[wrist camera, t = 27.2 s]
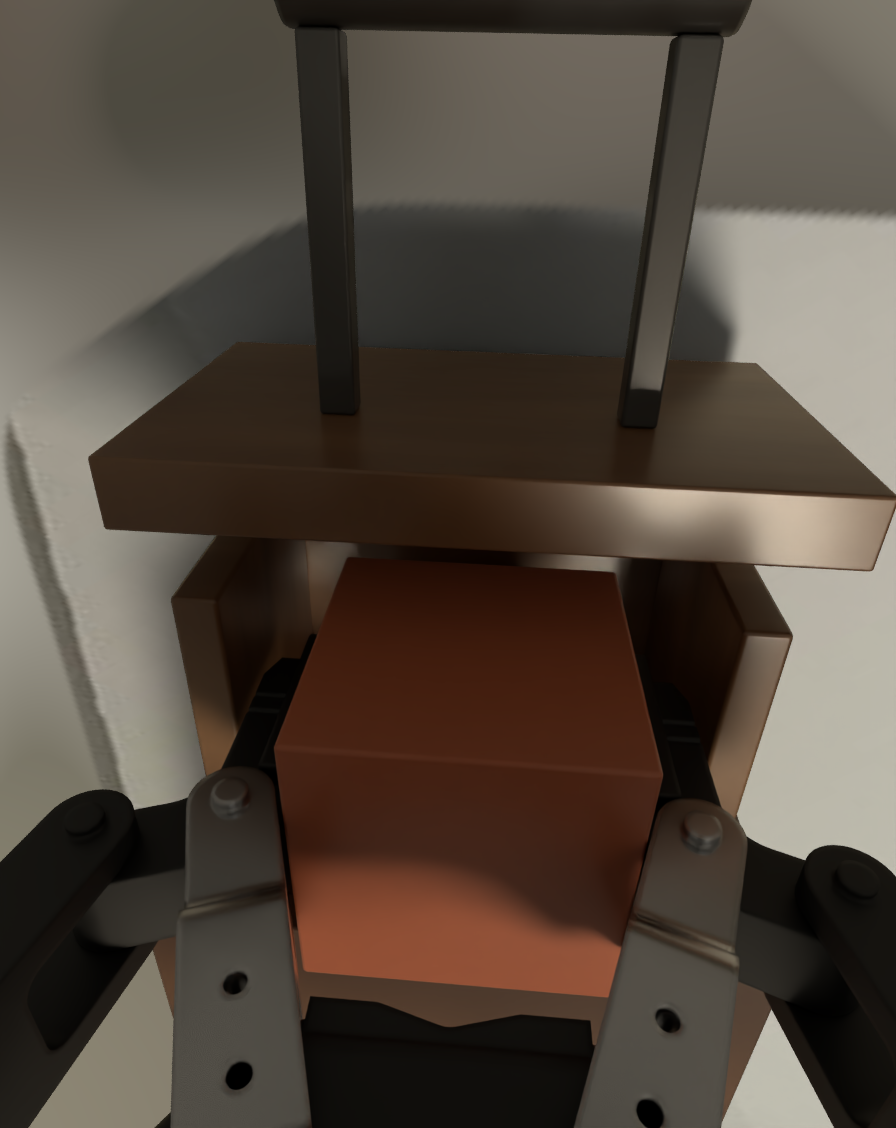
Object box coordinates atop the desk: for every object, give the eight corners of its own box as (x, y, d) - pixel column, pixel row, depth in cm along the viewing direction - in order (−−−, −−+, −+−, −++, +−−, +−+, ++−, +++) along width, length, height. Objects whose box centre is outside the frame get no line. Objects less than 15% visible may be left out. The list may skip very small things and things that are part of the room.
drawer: (190, -43, 13) (-70, -185, 7) (851, -34, 13) (1149, -179, 7) (289, 775, 23) (214, 991, 17) (654, 801, 23) (705, 1034, 17)
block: (346, 554, 14) (271, 747, 10) (616, 570, 14) (665, 775, 9) (356, 751, 16) (301, 974, 12) (584, 767, 16) (612, 1000, 12)
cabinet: (264, 653, 22) (140, 916, 15) (693, 680, 21) (790, 970, 14) (302, 946, 29) (233, 1221, 22) (622, 973, 29) (660, 1265, 21)
